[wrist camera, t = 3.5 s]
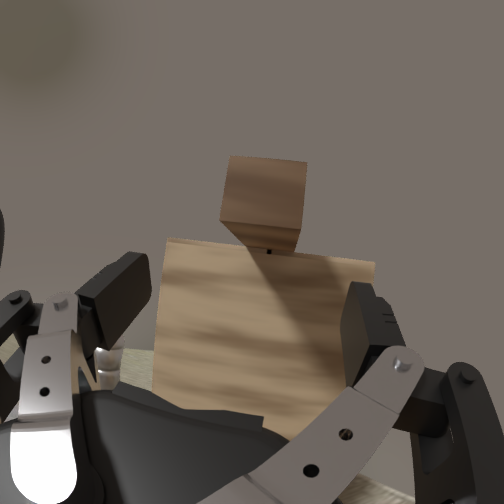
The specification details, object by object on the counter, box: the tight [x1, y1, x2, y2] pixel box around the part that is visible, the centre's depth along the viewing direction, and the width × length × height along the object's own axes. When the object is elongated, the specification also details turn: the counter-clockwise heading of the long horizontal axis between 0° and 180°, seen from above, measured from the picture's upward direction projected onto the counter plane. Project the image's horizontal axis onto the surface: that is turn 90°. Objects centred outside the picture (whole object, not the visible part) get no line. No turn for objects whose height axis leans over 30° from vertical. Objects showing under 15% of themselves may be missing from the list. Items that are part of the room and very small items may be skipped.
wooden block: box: [152, 237, 375, 441], centre depth 31 cm, size 18×18×32 cm
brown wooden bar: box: [219, 156, 307, 254], centre depth 28 cm, size 28×4×4 cm, turn 174°
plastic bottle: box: [95, 334, 125, 390], centre depth 45 cm, size 6×7×20 cm
